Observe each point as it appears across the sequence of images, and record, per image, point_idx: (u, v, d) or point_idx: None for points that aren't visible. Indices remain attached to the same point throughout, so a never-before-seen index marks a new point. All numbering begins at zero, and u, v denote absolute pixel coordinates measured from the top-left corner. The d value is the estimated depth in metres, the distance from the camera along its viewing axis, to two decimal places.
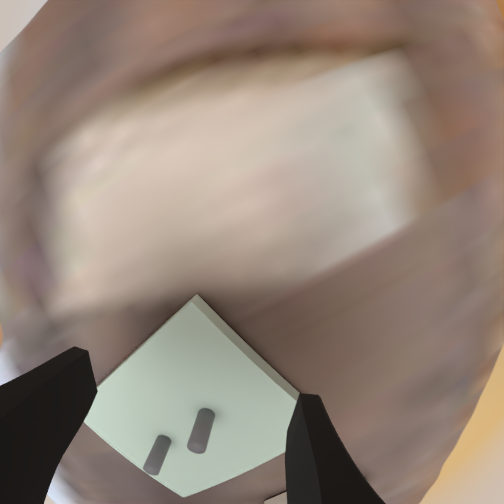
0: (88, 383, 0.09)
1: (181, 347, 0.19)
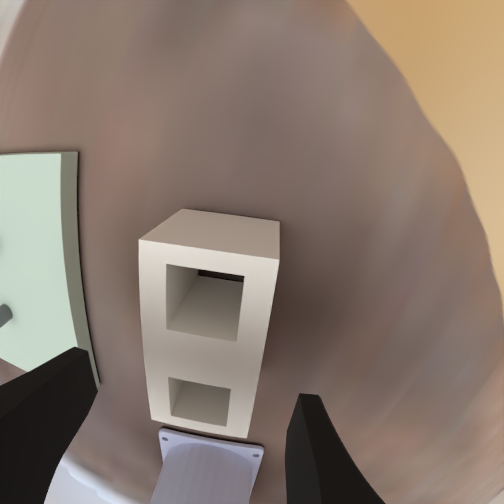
0: (88, 383, 0.09)
1: None
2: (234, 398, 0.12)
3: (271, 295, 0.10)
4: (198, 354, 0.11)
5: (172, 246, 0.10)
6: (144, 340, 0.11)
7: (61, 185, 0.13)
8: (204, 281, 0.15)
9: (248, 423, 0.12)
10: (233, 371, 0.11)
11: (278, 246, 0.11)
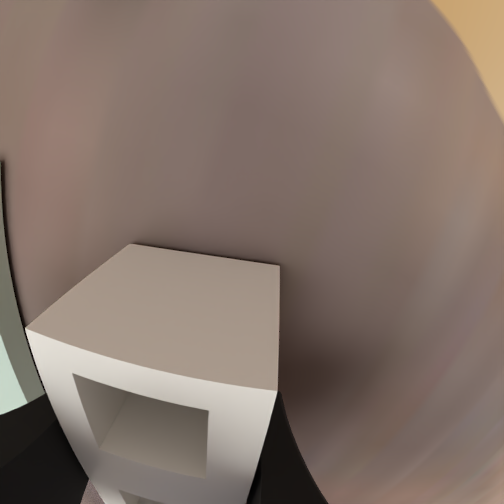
0: None
1: None
2: None
3: (261, 437, 0.05)
4: (152, 480, 0.06)
5: (74, 350, 0.04)
6: (75, 451, 0.06)
7: None
8: None
9: None
10: (206, 501, 0.06)
11: (276, 341, 0.06)
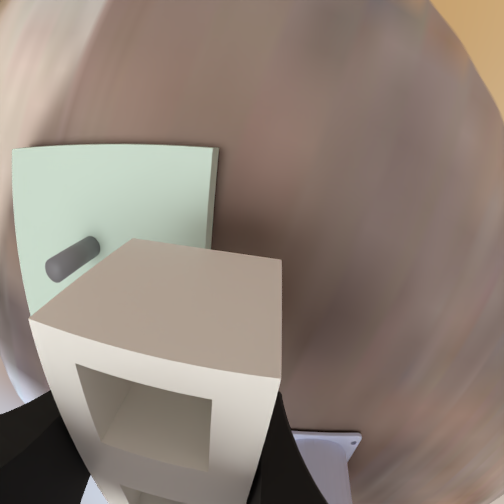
0: None
1: (29, 193, 0.15)
2: None
3: (264, 427, 0.05)
4: (153, 474, 0.06)
5: (77, 339, 0.05)
6: (77, 445, 0.06)
7: (210, 182, 0.14)
8: None
9: None
10: (207, 495, 0.06)
11: (279, 331, 0.06)
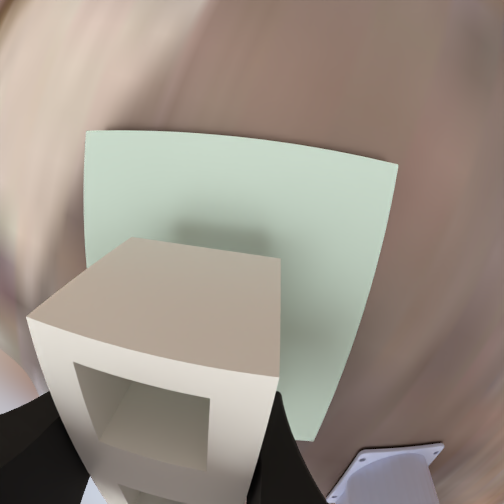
0: None
1: (115, 194, 0.12)
2: None
3: (262, 426, 0.05)
4: (152, 473, 0.06)
5: (75, 337, 0.05)
6: (75, 444, 0.06)
7: (390, 203, 0.12)
8: None
9: None
10: (206, 495, 0.06)
11: (278, 330, 0.06)
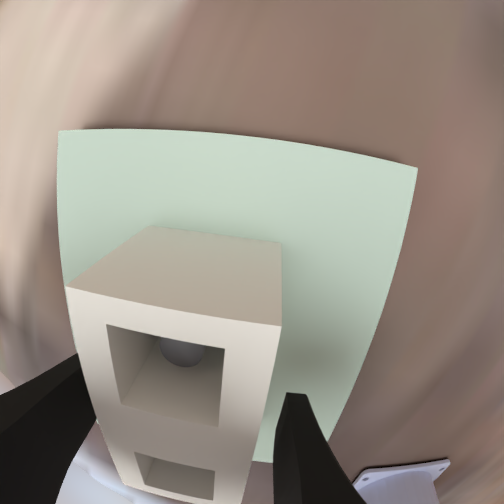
0: None
1: (90, 203, 0.10)
2: (220, 478, 0.08)
3: (268, 375, 0.06)
4: (168, 435, 0.07)
5: (111, 300, 0.06)
6: (97, 411, 0.07)
7: (408, 213, 0.10)
8: None
9: (240, 499, 0.08)
10: (216, 455, 0.07)
11: (280, 294, 0.07)
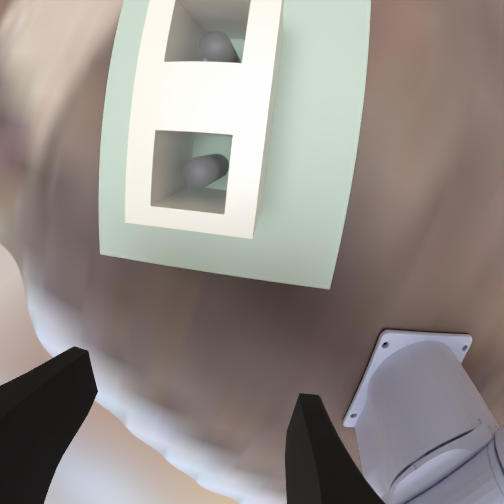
0: (88, 383, 0.09)
1: None
2: (236, 152, 0.09)
3: (278, 12, 0.08)
4: (196, 86, 0.09)
5: None
6: (136, 83, 0.09)
7: (369, 19, 0.11)
8: None
9: (255, 203, 0.10)
10: (236, 104, 0.09)
11: None
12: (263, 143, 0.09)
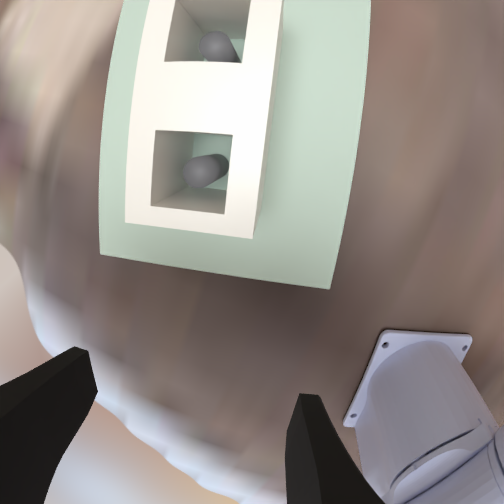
0: (88, 383, 0.09)
1: None
2: (236, 151, 0.09)
3: (278, 12, 0.08)
4: (196, 86, 0.09)
5: None
6: (136, 83, 0.09)
7: (369, 19, 0.11)
8: None
9: (255, 203, 0.10)
10: (237, 104, 0.09)
11: None
12: (263, 143, 0.09)
